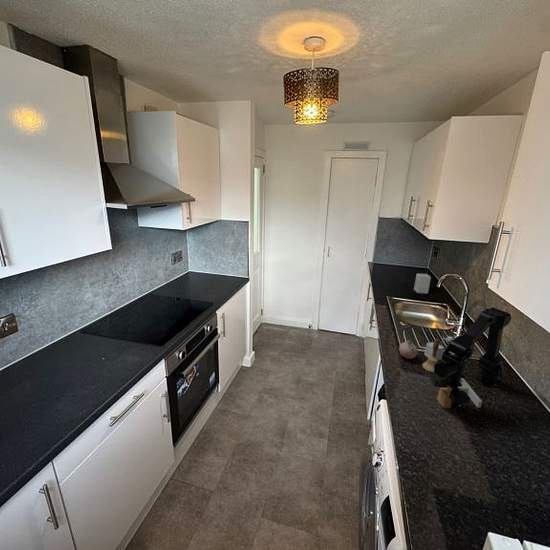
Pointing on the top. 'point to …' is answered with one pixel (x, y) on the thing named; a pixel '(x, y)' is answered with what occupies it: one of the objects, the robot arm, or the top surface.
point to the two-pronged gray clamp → (470, 393)
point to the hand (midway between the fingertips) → (446, 401)
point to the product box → (430, 350)
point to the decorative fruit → (408, 350)
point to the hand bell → (432, 358)
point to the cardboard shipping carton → (444, 397)
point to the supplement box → (422, 283)
